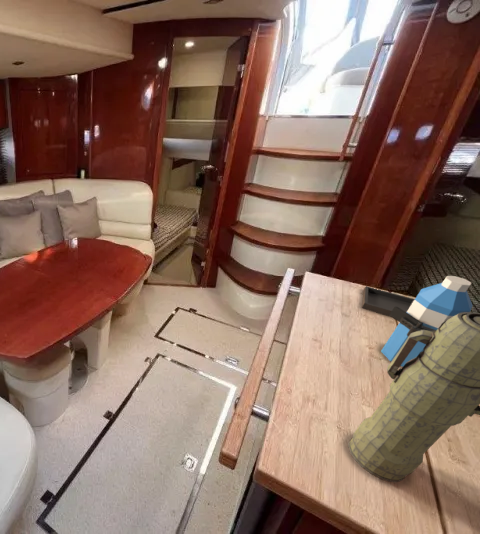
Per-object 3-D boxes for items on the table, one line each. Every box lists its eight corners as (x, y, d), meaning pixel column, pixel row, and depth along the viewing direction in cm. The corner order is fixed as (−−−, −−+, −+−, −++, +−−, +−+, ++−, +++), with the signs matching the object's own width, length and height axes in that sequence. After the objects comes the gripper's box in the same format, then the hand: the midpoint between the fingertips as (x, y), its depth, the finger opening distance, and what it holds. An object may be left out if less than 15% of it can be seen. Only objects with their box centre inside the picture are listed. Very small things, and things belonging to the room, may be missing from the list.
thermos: (339, 424, 67) (427, 293, 49) (413, 459, 60) (545, 323, 43) (336, 456, 61) (435, 322, 43) (418, 499, 54) (573, 361, 37)
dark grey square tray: (413, 304, 102) (416, 299, 101) (416, 324, 94) (419, 319, 93) (363, 290, 110) (365, 285, 109) (361, 308, 101) (364, 303, 100)
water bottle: (377, 340, 88) (424, 266, 76) (421, 352, 84) (478, 276, 71) (384, 362, 81) (437, 284, 69) (432, 376, 77) (498, 296, 65)
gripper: (453, 391, 62) (365, 322, 80) (572, 386, 62) (457, 319, 80) (477, 365, 58) (378, 299, 76) (603, 360, 58) (475, 296, 77)
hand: (418, 309), depth 78 cm, fingers open, 13 cm apart
